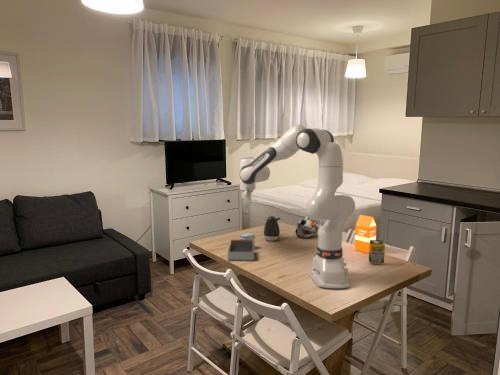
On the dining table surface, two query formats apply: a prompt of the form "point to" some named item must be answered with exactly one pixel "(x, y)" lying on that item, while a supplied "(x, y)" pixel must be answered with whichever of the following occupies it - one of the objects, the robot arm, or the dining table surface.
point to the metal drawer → (241, 250)
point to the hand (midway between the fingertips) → (247, 210)
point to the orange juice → (364, 233)
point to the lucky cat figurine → (306, 228)
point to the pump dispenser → (271, 229)
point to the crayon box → (376, 251)
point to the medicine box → (248, 238)
